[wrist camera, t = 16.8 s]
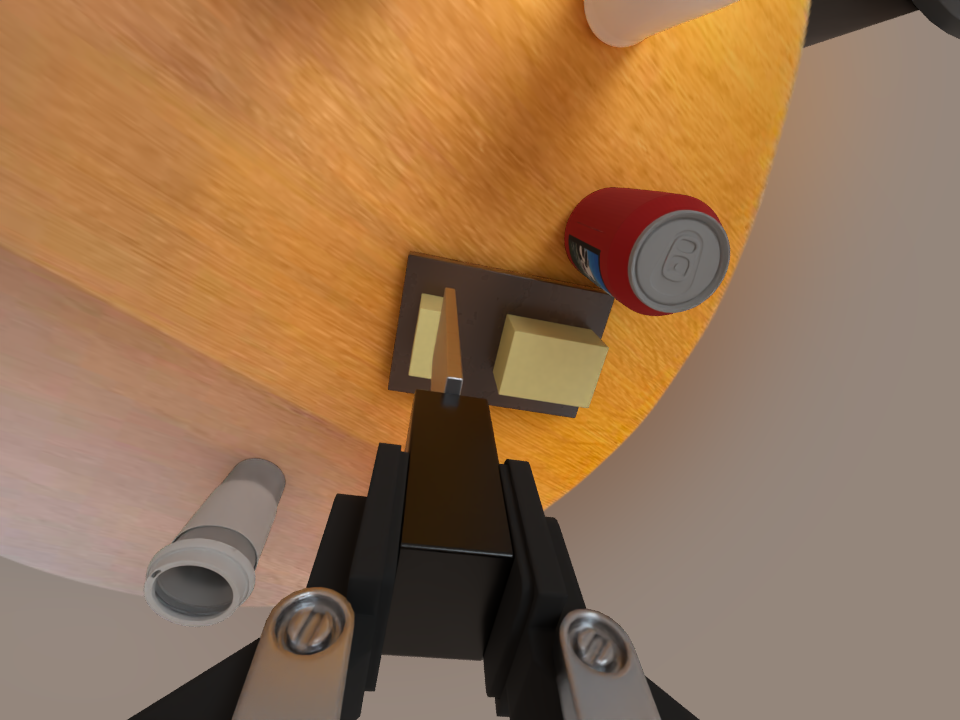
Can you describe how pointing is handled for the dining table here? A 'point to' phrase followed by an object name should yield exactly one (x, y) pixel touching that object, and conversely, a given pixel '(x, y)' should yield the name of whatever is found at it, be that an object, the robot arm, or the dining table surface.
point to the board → (489, 320)
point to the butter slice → (425, 336)
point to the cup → (217, 549)
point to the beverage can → (648, 248)
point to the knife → (449, 518)
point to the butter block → (548, 361)
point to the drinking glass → (643, 17)
